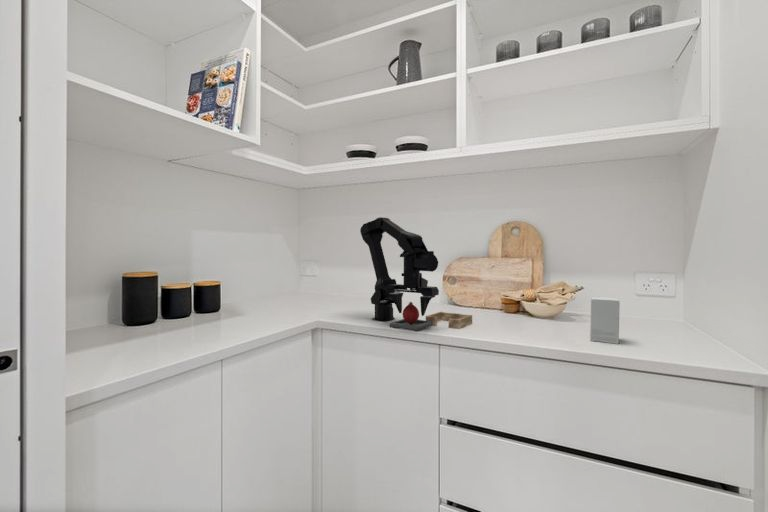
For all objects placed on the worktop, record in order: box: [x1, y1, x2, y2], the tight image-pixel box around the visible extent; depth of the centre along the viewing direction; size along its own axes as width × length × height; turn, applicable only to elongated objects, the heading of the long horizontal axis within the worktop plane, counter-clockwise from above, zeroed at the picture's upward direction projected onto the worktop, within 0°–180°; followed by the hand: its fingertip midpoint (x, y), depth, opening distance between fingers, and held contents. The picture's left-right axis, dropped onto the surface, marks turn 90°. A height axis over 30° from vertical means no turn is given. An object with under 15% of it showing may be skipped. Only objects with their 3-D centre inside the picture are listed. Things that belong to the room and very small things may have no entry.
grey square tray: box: [389, 318, 434, 332], centre depth 129 cm, size 11×11×2 cm
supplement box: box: [589, 296, 621, 345], centre depth 110 cm, size 7×7×13 cm
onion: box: [402, 301, 420, 325], centre depth 129 cm, size 6×6×8 cm
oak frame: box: [425, 311, 473, 330], centre depth 134 cm, size 13×12×3 cm
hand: (411, 314), depth 129 cm, fingers open, 9 cm apart
